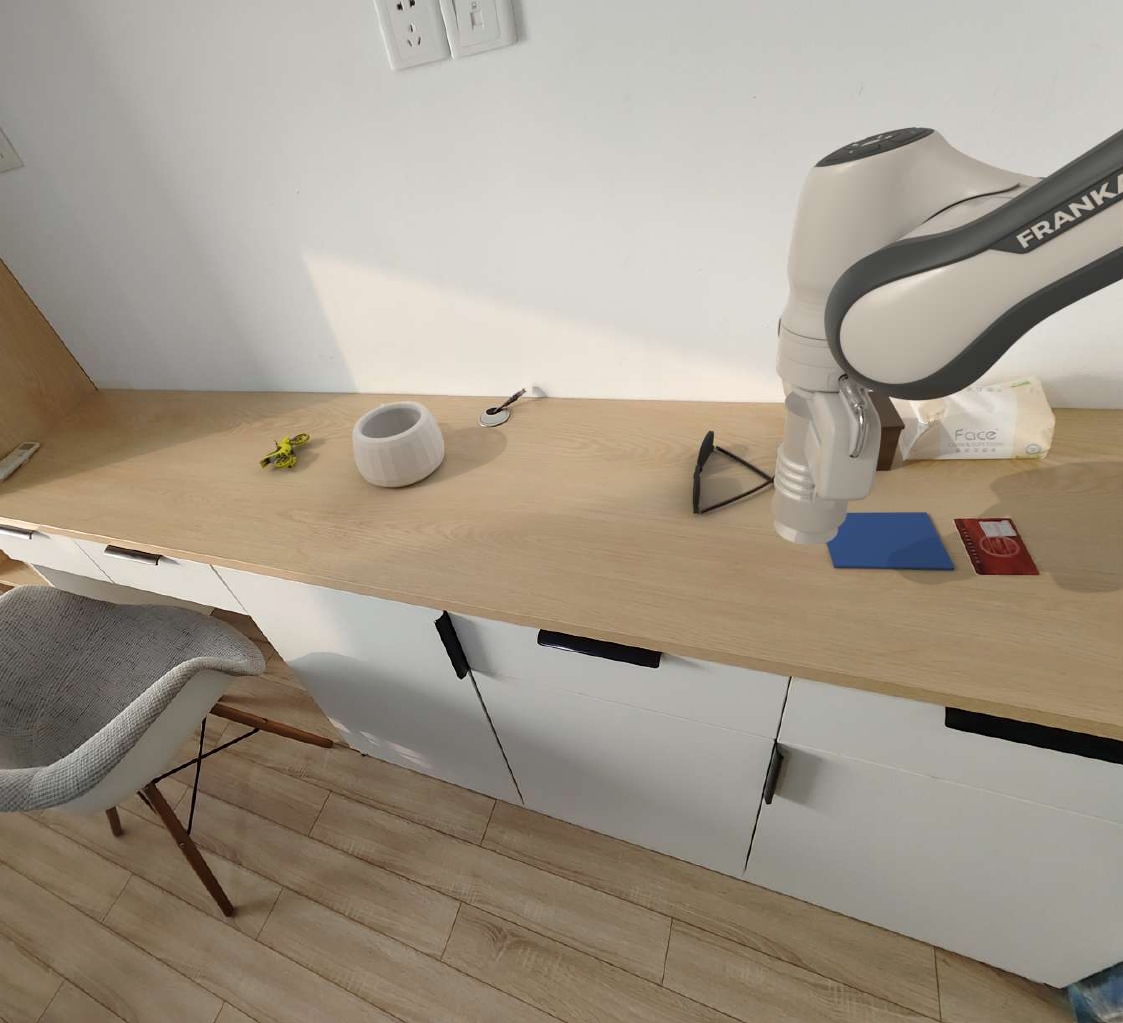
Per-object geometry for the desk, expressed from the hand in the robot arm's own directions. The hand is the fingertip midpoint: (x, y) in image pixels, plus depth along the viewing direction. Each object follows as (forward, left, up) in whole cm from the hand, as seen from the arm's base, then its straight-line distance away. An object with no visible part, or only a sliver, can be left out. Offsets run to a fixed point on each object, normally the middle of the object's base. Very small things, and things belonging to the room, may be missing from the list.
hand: (812, 478), depth 60 cm
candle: (0, 0, -6) cm, 6 cm away
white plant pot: (+60, -33, -19) cm, 71 cm away
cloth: (-12, -11, -19) cm, 25 cm away
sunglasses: (+2, -23, -19) cm, 30 cm away
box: (-12, -30, -19) cm, 37 cm away
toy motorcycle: (+86, -35, -19) cm, 95 cm away
